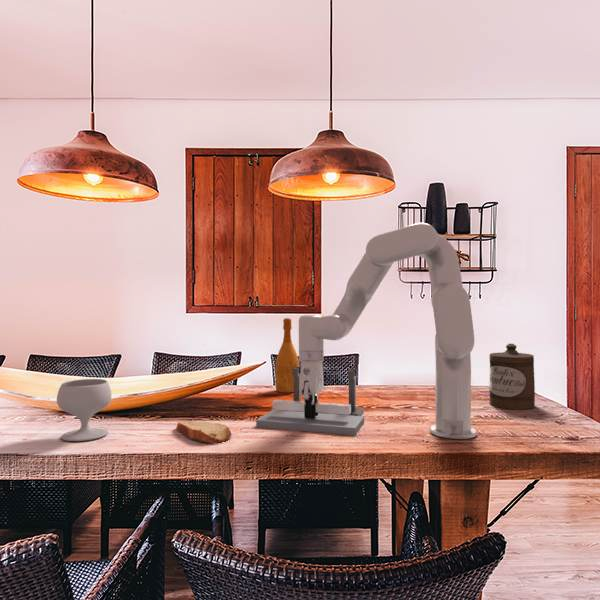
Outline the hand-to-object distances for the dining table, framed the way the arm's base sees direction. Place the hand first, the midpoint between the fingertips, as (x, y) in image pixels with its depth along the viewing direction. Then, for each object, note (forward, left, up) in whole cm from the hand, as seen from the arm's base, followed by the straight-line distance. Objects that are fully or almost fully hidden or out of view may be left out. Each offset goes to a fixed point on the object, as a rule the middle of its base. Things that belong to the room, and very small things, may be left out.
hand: (311, 416), depth 147 cm
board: (0, 0, -3) cm, 3 cm away
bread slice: (-19, +27, -3) cm, 33 cm away
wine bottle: (+48, +24, -3) cm, 54 cm away
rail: (0, 0, +2) cm, 2 cm away
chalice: (-30, +57, -3) cm, 65 cm away
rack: (+16, 0, -3) cm, 16 cm away
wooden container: (+47, -61, -3) cm, 77 cm away
